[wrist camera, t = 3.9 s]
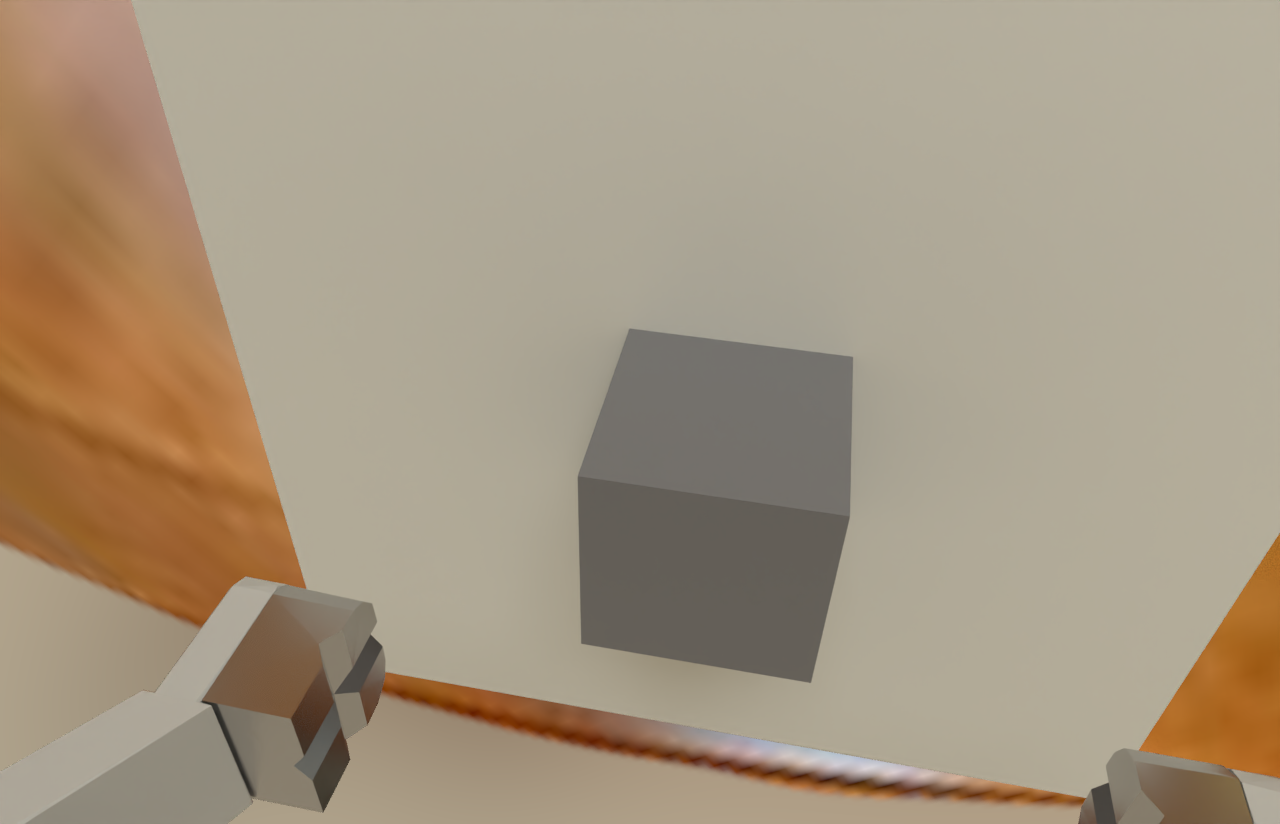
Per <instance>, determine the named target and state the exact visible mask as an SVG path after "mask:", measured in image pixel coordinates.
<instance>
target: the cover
mask: <svg viewBox="0 0 1280 824" xmlns="http://www.w3.org/2000/svg"><path fill="white" fill-rule="evenodd" d="M131 1H132V5H133V8H134V11H135V15H136V18H137V22H138V25H139V28H140V32H141V35H142V38H143V42H144V45H145V48H146V52H147V55H148V58H149V62H150V65H151V68H152V72H153V75H154V78H155V82H156V85H157V89H158V92H159V95H160V99H161V102H162V105H163V109H164V112H165V115H166V119H167V122H168V125H169V129H170V132H171V135H172V139H173V142H174V146H175V149H176V152H177V156H178V159H179V162H180V166H181V169H182V172H183V176H184V179H185V182H186V186H187V189H188V192H189V196H190V199H191V202H192V206H193V209H194V213H195V216H196V219H197V223H198V226H199V229H200V233H201V236H202V239H203V243H204V246H205V249H206V253H207V256H208V259H209V263H210V266H211V270H212V273H213V276H214V280H215V283H216V286H217V290H218V293H219V296H220V300H221V303H222V306H223V310H224V313H225V316H226V320H227V323H228V326H229V330H230V333H231V337H232V340H233V343H234V347H235V350H236V353H237V357H238V360H239V363H240V367H241V370H242V373H243V377H244V380H245V383H246V387H247V390H248V393H249V397H250V400H251V404H252V407H253V410H254V414H255V417H256V420H257V424H258V427H259V430H260V434H261V437H262V440H263V444H264V447H265V450H266V454H267V457H268V461H269V464H270V467H271V471H272V474H273V477H274V481H275V484H276V487H277V491H278V494H279V497H280V501H281V504H282V507H283V511H284V514H285V517H286V521H287V524H288V528H289V531H290V534H291V538H292V541H293V544H294V548H295V551H296V554H297V558H298V561H299V564H300V568H301V571H302V574H303V578H304V581H305V585H306V588H307V589H308V590H313V591H317V592H322V593H327V594H331V595H336V596H341V597H346V598H350V599H355V600H360V601H364V602H369V603H372V605H373V608H374V612H375V615H376V619H377V623H376V625H375V627H374V629H373V631H372V633H371V635H372V636H373V637H374V638H375V639H376V640H377V641H378V642H379V643H380V644H381V645H382V646H383V650H384V655H385V660H386V662H385V672H389V673H395V674H400V675H406V676H411V677H417V678H422V679H428V680H433V681H439V682H445V683H450V684H456V685H461V686H467V687H472V688H478V689H484V690H489V691H495V692H500V693H506V694H511V695H517V696H522V697H528V698H534V699H539V700H545V701H550V702H556V703H561V704H567V705H573V706H578V707H584V708H589V709H595V710H600V711H606V712H611V713H617V714H623V715H628V716H634V717H639V718H645V719H650V720H656V721H662V722H667V723H673V724H678V725H684V726H689V727H695V728H700V729H706V730H712V731H717V732H723V733H728V734H734V735H739V736H745V737H751V738H756V739H762V740H767V741H773V742H778V743H784V744H789V745H795V746H801V747H806V748H812V749H817V750H823V751H828V752H834V753H840V754H845V755H851V756H856V757H862V758H867V759H873V760H878V761H884V762H890V763H895V764H901V765H906V766H912V767H917V768H923V769H929V770H934V771H940V772H945V773H951V774H956V775H962V776H967V777H973V778H979V779H984V780H990V781H995V782H1001V783H1006V784H1012V785H1018V786H1023V787H1029V788H1034V789H1040V790H1045V791H1051V792H1057V793H1062V794H1068V795H1073V796H1079V797H1084V798H1087V796H1088V794H1089V792H1090V790H1091V789H1093V788H1096V787H1098V786H1101V785H1103V784H1106V783H1109V781H1108V776H1107V770H1106V764H1107V763H1108V761H1109V760H1110V758H1111V757H1112V755H1113V754H1114V752H1116V751H1118V750H1121V749H1123V748H1127V749H1132V750H1139V748H1140V747H1141V745H1142V744H1143V742H1144V741H1145V739H1146V738H1147V736H1148V735H1149V733H1150V732H1151V730H1152V728H1153V727H1154V725H1155V724H1156V722H1157V721H1158V719H1159V718H1160V716H1161V715H1162V713H1163V712H1164V710H1165V708H1166V707H1167V705H1168V704H1169V702H1170V701H1171V699H1172V698H1173V696H1174V695H1175V693H1176V692H1177V690H1178V688H1179V687H1180V685H1181V684H1182V682H1183V681H1184V679H1185V678H1186V676H1187V675H1188V673H1189V672H1190V670H1191V668H1192V667H1193V665H1194V664H1195V662H1196V661H1197V659H1198V658H1199V656H1200V655H1201V653H1202V652H1203V650H1204V648H1205V647H1206V645H1207V644H1208V642H1209V641H1210V639H1211V638H1212V636H1213V635H1214V633H1215V632H1216V630H1217V628H1218V627H1219V625H1220V624H1221V622H1222V621H1223V619H1224V618H1225V616H1226V615H1227V613H1228V612H1229V610H1230V608H1231V607H1232V605H1233V604H1234V602H1235V601H1236V599H1237V598H1238V596H1239V595H1240V593H1241V592H1242V590H1243V589H1244V587H1245V585H1246V584H1247V582H1248V581H1249V579H1250V578H1251V576H1252V575H1253V573H1254V572H1255V570H1256V569H1257V567H1258V565H1259V564H1260V562H1261V561H1262V559H1263V558H1264V556H1265V555H1266V553H1267V552H1268V550H1269V549H1270V547H1271V545H1272V544H1273V542H1274V541H1275V539H1276V538H1277V536H1278V535H1279V533H1280V0H131Z"/></svg>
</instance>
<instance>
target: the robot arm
mask: <svg viewBox="0 0 1280 824" xmlns="http://www.w3.org/2000/svg"><path fill="white" fill-rule="evenodd" d="M376 623H377V619H376V615H375V612H374V608H373V605H372V603H369V602H364V601H360V600H355V599H350V598H346V597H341V596H336V595H331V594H327V593H322V592H317V591H313V590H308V589H303V588H298V587H294V586H290V585H286V584H281V583H276V582H271V581H266V580H261V579H255V578H250V577H245V578H243V579H242V580H240V581H239V582H237V583H236V584H235V585H233V586H232V587H231V588H230V589H229V591H228V592H227V593H226V595H225V596H224V598H223V599H222V600H221V602H220V603H219V604H218V606H217V607H216V608H215V610H214V611H213V613H212V614H211V615H210V617H209V618H208V619H207V621H206V622H205V624H204V625H203V626H202V628H201V629H200V630H199V632H198V633H197V635H196V636H195V637H194V639H193V640H192V642H191V643H190V644H189V646H188V647H187V648H186V650H185V651H184V652H183V654H182V655H181V656H180V658H179V659H178V661H177V662H176V664H175V665H174V666H173V667H172V669H171V670H170V672H169V673H168V675H167V676H166V677H165V678H164V680H163V681H162V683H161V684H160V685H159V687H158V688H157V689H156V691H155V692H152V691H146V690H142V691H140V692H138V693H136V694H135V695H133V696H131V697H129V698H128V699H126V700H124V701H122V702H121V703H119V704H117V705H115V706H114V707H112V708H110V709H108V710H107V711H105V712H103V713H101V714H100V715H98V716H96V717H95V718H93V719H91V720H89V721H88V722H86V723H84V724H82V725H80V726H79V727H77V728H75V729H74V730H72V731H70V732H68V733H67V734H65V735H64V736H61V737H60V738H58V739H56V740H54V741H53V742H51V743H49V744H47V745H46V746H44V747H42V748H40V749H39V750H37V751H35V752H33V753H32V754H30V755H28V756H26V757H25V758H23V759H21V760H19V761H18V762H16V763H14V764H12V765H11V766H9V767H7V768H6V769H4V770H2V771H0V824H228V823H229V822H230V821H232V820H233V819H234V818H235V817H237V816H238V815H239V814H240V813H241V812H243V810H245V809H246V808H248V807H249V806H250V805H251V804H252V803H253V801H252V798H253V799H258V800H263V801H268V802H273V803H278V804H283V805H288V806H293V807H298V808H303V809H308V810H313V811H318V812H324V810H325V808H326V806H327V804H328V802H329V800H330V798H331V796H332V795H333V793H334V790H335V788H336V787H337V785H338V782H339V781H340V779H341V777H342V775H343V772H344V771H345V769H346V767H347V765H348V763H349V761H350V756H349V751H348V746H347V742H346V739H347V738H349V737H350V736H352V735H353V734H355V733H356V732H358V731H359V730H361V729H362V728H364V727H365V726H367V725H368V723H369V721H370V719H371V717H372V714H373V712H374V710H375V708H376V706H377V704H378V701H379V698H380V694H381V690H382V687H383V683H384V679H385V662H386V660H385V655H384V650H383V646H382V645H381V644H380V643H379V642H378V641H377V640H376V639H375V638H374V637H373V636H372V635H371V633H372V631H373V629H374V627H375V625H376ZM1106 770H1107V776H1108V781H1109V783H1106V784H1103V785H1101V786H1098V787H1096V788H1093V789H1091V790H1090V792H1089V794H1088V796H1087V798H1086V800H1085V802H1084V803H1083V805H1082V807H1081V812H1080V818H1079V823H1078V824H1280V778H1278V777H1274V776H1268V775H1262V774H1257V773H1251V772H1245V771H1239V770H1233V769H1228V768H1225V767H1224V766H1222V765H1216V764H1211V763H1205V762H1199V761H1194V760H1188V759H1183V758H1177V757H1172V756H1166V755H1160V754H1155V753H1149V752H1144V751H1138V750H1132V749H1127V748H1123V749H1121V750H1118V751H1116V752H1114V754H1113V755H1112V757H1111V758H1110V760H1109V761H1108V763H1107V764H1106Z"/></svg>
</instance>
